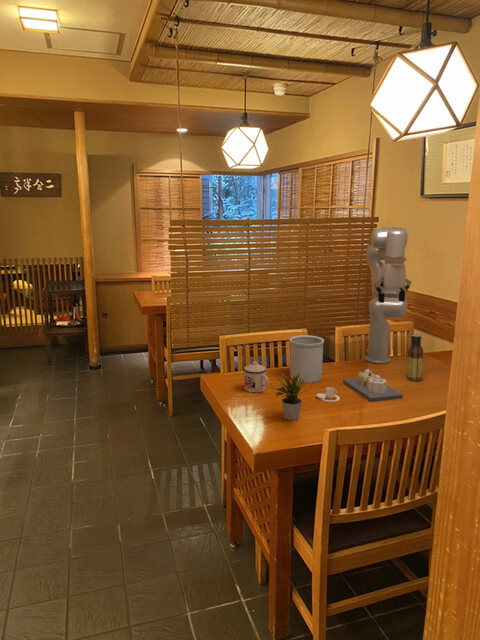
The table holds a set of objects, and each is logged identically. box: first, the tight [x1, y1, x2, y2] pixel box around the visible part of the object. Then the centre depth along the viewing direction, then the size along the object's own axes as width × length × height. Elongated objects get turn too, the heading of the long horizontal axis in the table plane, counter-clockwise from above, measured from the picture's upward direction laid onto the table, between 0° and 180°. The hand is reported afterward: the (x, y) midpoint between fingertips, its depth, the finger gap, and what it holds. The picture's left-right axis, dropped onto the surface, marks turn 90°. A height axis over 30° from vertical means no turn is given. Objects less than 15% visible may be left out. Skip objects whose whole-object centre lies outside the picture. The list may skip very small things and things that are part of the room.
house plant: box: [272, 371, 311, 421], centre depth 160 cm, size 14×14×16 cm
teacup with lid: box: [243, 361, 270, 393], centre depth 185 cm, size 12×9×12 cm
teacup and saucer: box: [315, 386, 341, 403], centre depth 178 cm, size 9×8×4 cm
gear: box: [367, 377, 388, 393], centre depth 182 cm, size 7×7×4 cm
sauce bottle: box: [406, 333, 424, 382], centre depth 197 cm, size 7×6×20 cm
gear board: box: [342, 368, 404, 403], centre depth 185 cm, size 22×14×8 cm, turn 15°
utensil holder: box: [288, 334, 325, 384], centre depth 199 cm, size 15×15×18 cm
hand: (391, 301), depth 192 cm, fingers open, 9 cm apart
